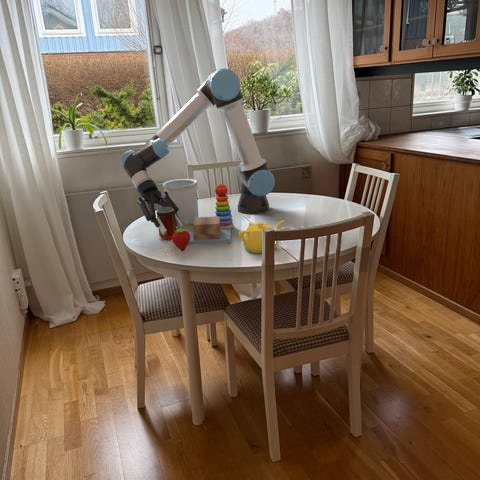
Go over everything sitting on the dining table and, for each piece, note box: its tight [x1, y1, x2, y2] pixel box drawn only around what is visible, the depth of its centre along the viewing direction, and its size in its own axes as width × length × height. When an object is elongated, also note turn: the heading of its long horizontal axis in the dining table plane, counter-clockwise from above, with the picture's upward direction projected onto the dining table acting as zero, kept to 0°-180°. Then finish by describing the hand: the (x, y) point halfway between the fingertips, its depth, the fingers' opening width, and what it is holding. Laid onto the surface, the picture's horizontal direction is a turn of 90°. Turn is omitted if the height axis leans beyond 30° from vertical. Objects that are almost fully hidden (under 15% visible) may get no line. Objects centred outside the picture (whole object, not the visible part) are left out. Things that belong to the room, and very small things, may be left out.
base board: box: [187, 229, 232, 246], centre depth 170 cm, size 18×12×2 cm, turn 90°
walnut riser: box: [191, 215, 221, 240], centre depth 168 cm, size 10×10×6 cm
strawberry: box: [171, 225, 190, 252], centre depth 156 cm, size 6×8×10 cm
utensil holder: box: [162, 178, 200, 225], centre depth 193 cm, size 15×15×18 cm
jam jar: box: [156, 206, 178, 241], centre depth 171 cm, size 7×7×12 cm
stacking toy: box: [214, 183, 235, 230], centre depth 179 cm, size 8×8×19 cm
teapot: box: [238, 219, 285, 254], centre depth 155 cm, size 14×13×10 cm
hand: (172, 230), depth 169 cm, fingers closed on jam jar, 7 cm apart
